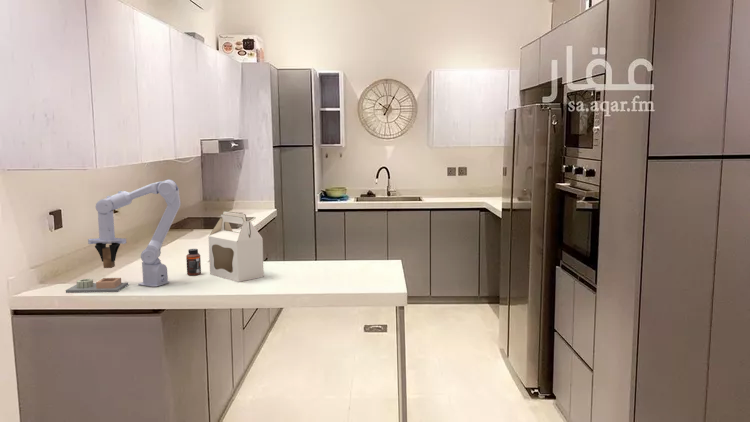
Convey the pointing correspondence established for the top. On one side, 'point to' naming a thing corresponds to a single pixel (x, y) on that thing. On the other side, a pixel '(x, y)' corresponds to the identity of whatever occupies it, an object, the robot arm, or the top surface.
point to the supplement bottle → (193, 262)
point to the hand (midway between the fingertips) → (108, 261)
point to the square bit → (107, 258)
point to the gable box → (235, 249)
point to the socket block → (97, 285)
